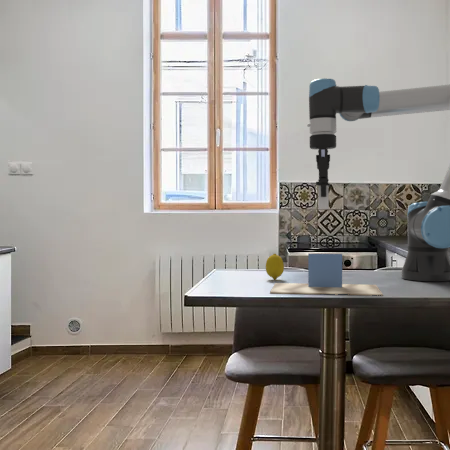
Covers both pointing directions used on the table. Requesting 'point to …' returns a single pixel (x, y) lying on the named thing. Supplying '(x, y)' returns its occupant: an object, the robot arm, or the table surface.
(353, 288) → the board
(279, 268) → the lemon
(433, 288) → the table surface
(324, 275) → the tile
